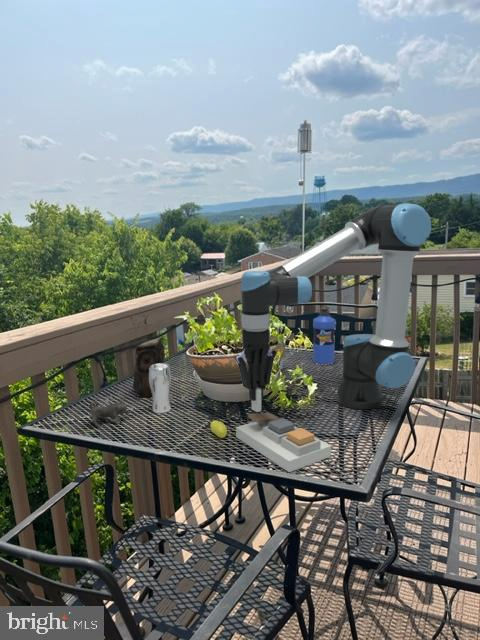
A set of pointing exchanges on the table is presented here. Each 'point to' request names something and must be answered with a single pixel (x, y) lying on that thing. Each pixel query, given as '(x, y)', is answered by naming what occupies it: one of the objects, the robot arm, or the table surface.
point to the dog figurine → (107, 412)
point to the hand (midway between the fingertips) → (256, 410)
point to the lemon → (218, 428)
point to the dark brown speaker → (146, 365)
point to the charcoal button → (281, 426)
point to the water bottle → (323, 337)
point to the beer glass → (160, 387)
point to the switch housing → (282, 446)
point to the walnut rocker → (263, 417)
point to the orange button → (300, 437)
